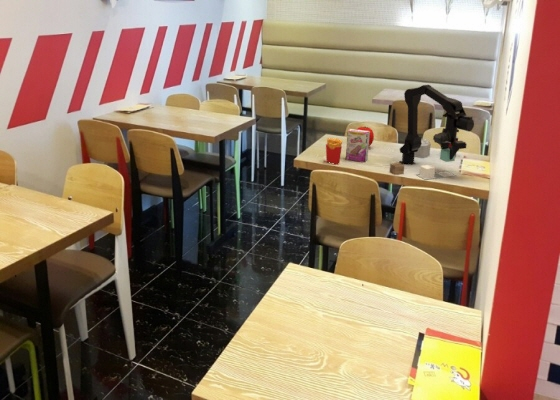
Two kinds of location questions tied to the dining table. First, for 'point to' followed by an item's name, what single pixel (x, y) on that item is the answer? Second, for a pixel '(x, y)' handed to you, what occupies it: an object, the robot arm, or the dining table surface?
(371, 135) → the tomato
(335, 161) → the french fries
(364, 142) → the candy bar box
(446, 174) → the slate board
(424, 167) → the block
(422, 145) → the lumpy-topped squat cylinder
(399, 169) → the walnut block
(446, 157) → the teal block
